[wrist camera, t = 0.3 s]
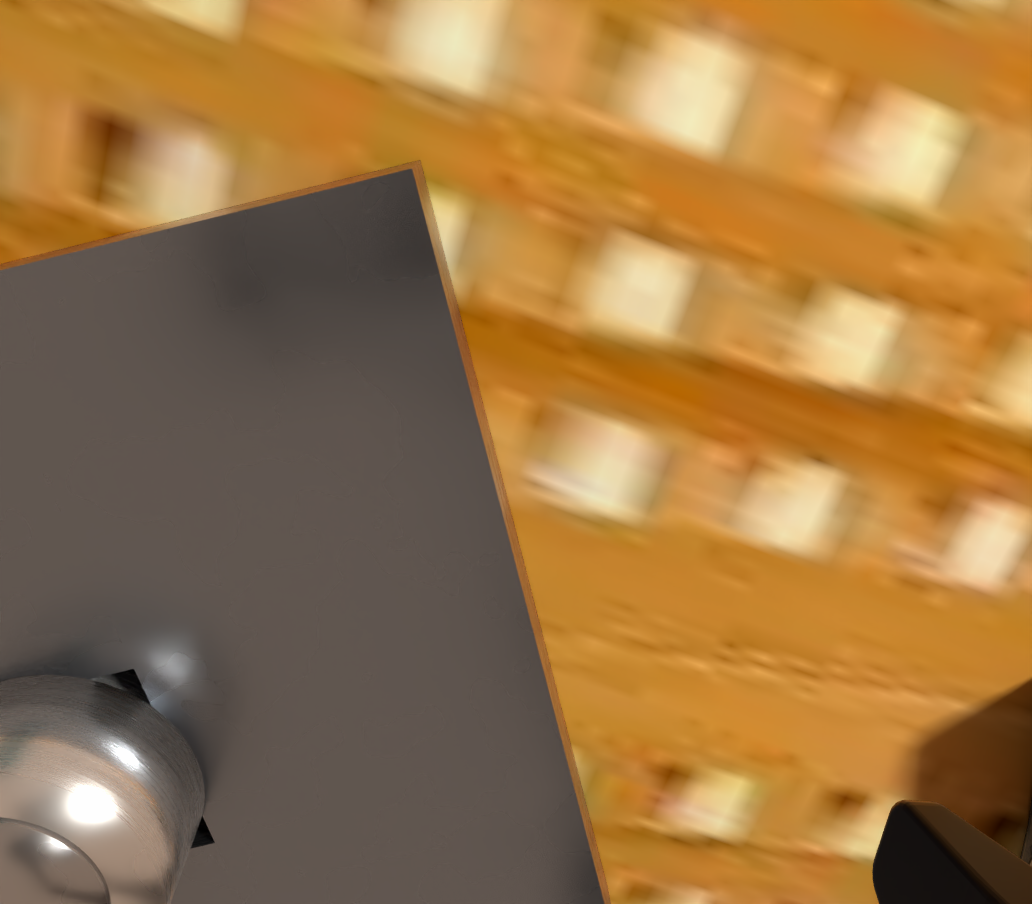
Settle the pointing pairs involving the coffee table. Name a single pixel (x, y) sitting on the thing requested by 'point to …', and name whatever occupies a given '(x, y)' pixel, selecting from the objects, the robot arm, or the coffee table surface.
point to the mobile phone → (1028, 842)
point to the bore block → (291, 548)
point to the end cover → (92, 793)
